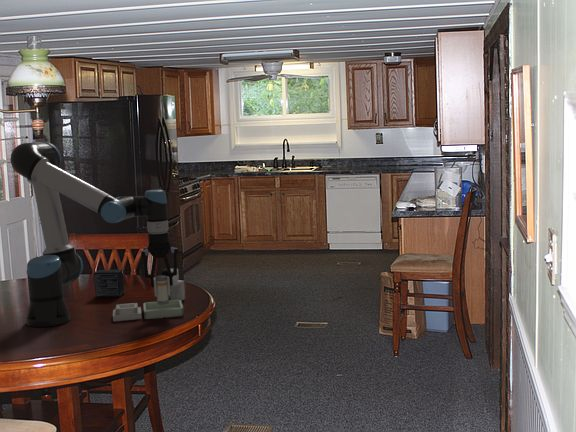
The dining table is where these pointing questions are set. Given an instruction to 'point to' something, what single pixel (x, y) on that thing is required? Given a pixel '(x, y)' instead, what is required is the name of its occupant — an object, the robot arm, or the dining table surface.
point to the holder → (126, 312)
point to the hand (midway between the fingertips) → (162, 295)
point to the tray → (163, 309)
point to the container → (175, 286)
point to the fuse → (162, 290)
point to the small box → (109, 283)
